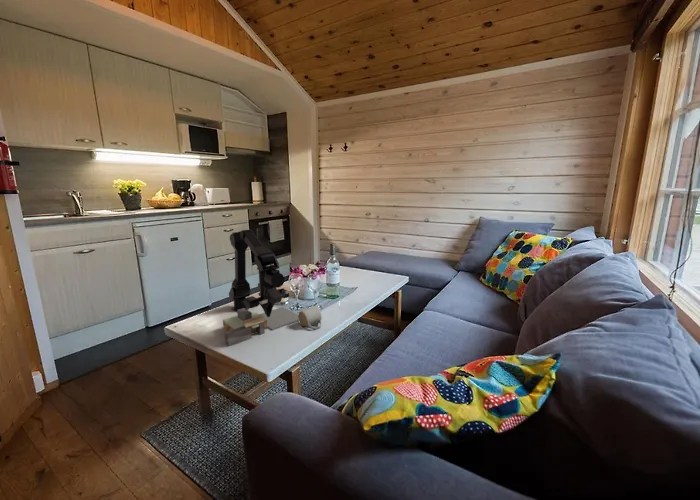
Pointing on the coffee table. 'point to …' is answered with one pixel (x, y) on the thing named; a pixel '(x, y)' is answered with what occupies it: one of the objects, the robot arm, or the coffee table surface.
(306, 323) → the ceramic mug
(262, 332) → the toolbox
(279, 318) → the rubber mat
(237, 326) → the toolbox lid
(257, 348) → the coffee table surface
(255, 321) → the wooden block
